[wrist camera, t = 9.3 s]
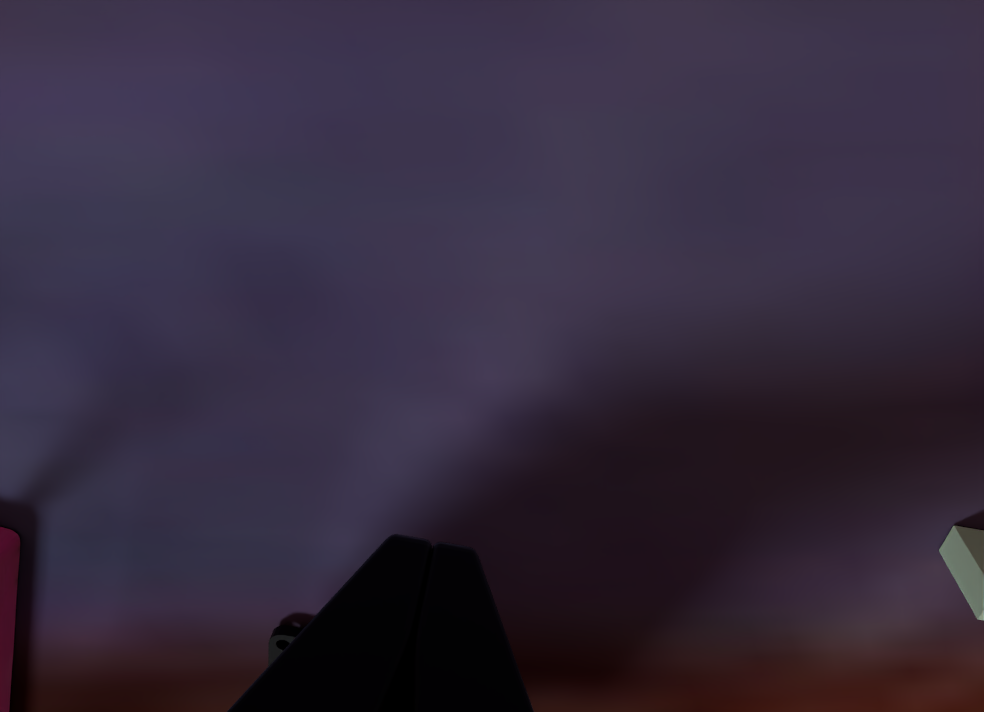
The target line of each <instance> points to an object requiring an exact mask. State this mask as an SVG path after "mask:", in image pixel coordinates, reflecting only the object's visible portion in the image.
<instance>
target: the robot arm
mask: <svg viewBox="0 0 984 712" xmlns="http://www.w3.org/2000/svg"><path fill="white" fill-rule="evenodd" d="M227 712H534V711H533V708H532V705H531V703H530V700H529V697H528V694H527V691H526V689H525V686H524V683H523V680H522V677H521V675H520V672H519V669H518V666H517V663H516V661H515V658H514V655H513V652H512V649H511V647H510V644H509V641H508V638H507V635H506V633H505V630H504V627H503V624H502V621H501V618H500V616H499V613H498V610H497V607H496V604H495V602H494V599H493V596H492V593H491V590H490V588H489V585H488V582H487V579H486V576H485V574H484V571H483V568H482V565H481V562H480V560H479V557H478V554H477V553H476V551H475V550H474V549H473V548H471V547H467V546H461V545H455V544H450V543H444V542H438V543H436V544H435V545H434V546H433V548H432V545H431V543H430V542H429V541H428V540H426V539H421V538H415V537H410V536H404V535H398V534H394V535H391V536H390V537H388V538H387V539H386V540H385V541H384V542H383V543H382V544H381V545H380V546H379V548H378V549H377V550H376V551H375V552H374V553H373V554H372V555H371V556H370V557H369V558H368V559H367V561H366V562H365V563H364V564H363V565H362V566H361V567H360V568H359V569H358V570H357V571H356V572H355V574H354V575H353V576H352V577H351V578H350V579H349V580H348V581H347V582H346V583H345V584H344V585H343V587H342V588H341V589H340V590H339V591H338V592H337V593H336V594H335V595H334V596H333V597H332V598H331V600H330V601H329V602H328V603H327V604H326V605H325V606H324V607H323V608H322V609H321V610H320V611H319V613H318V614H317V615H316V616H315V617H314V618H313V619H312V620H311V621H310V622H309V623H308V624H307V626H306V627H305V628H298V627H292V626H278V627H276V628H275V629H274V630H273V633H272V635H271V638H270V641H269V665H268V668H267V669H266V670H265V671H264V672H263V673H262V674H261V675H260V676H259V678H258V679H257V680H256V681H255V682H254V683H253V684H252V685H251V686H250V687H249V688H248V689H247V691H246V692H245V693H244V694H243V695H242V696H241V697H240V698H239V699H238V700H237V701H236V702H235V704H234V705H233V706H232V707H231V708H230V709H229V710H228V711H227Z"/></svg>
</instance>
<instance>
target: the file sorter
mask: <svg viewBox="0 0 984 712" xmlns="http://www.w3.org/2000/svg"><path fill="white" fill-rule="evenodd" d="M19 556H20V538H19V536H18V534H17V533H15V532H14V531H12V530H10V529H7V528H3V527H0V712H9V708H10V692H11V677H12V663H13V649H14V633H15V614H16V598H17V584H18V570H19Z"/></svg>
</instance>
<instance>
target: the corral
mask: <svg viewBox="0 0 984 712" xmlns="http://www.w3.org/2000/svg"><path fill="white" fill-rule="evenodd" d="M939 552H940V554H941V555H942V557H943V559H944V561H945V562H946V564H947V566H948V568H949V570H950V571H951V573H952V575H953V577H954V578H955V580H956V582H957V584H958V586H959V587H960V589H961V591H962V593H963V594H964V596H965V598H966V600H967V601H968V603H969V605H970V607H971V609H972V610H973V612H974V614H975V616H976V617H977V619H979V620H984V531H983V530H978V529H972V528H966V527H960V526H953V527H952V529H951V531H950V532H949V534H948V536H947V538H946V539H945V541H944V543H943V544H942V546H941V548H940V549H939Z"/></svg>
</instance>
